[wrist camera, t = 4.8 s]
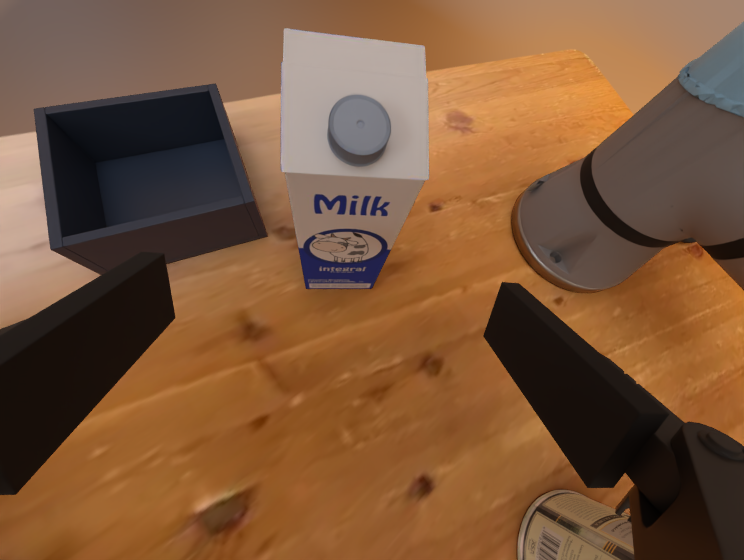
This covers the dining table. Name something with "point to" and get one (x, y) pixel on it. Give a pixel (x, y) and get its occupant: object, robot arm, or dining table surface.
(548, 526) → the coffee can
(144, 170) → the box
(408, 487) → the dining table surface
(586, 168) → the robot arm
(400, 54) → the milk carton
